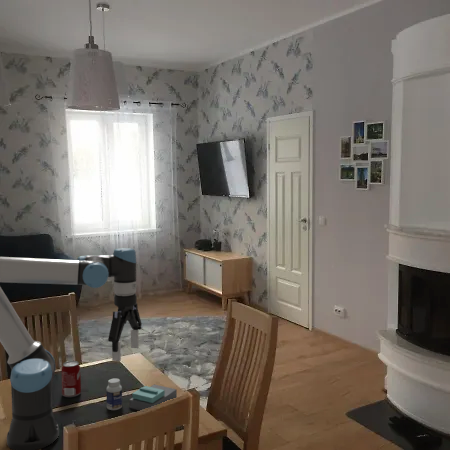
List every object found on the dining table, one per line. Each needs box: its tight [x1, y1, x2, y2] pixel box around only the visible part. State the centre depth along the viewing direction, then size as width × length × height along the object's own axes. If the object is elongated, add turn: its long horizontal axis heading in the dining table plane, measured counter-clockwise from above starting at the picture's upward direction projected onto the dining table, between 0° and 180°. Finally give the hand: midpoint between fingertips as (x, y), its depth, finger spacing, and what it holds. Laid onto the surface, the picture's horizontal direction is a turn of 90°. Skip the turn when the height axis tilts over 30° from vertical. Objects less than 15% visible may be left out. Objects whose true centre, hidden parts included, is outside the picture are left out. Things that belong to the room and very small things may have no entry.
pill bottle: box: [105, 378, 123, 411], centre depth 180 cm, size 5×5×10 cm
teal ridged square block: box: [131, 385, 165, 403], centre depth 181 cm, size 8×8×3 cm
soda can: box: [61, 360, 82, 398], centre depth 190 cm, size 7×7×12 cm
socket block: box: [128, 384, 178, 411], centre depth 184 cm, size 15×10×3 cm, turn 153°
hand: (125, 354), depth 177 cm, fingers open, 13 cm apart
